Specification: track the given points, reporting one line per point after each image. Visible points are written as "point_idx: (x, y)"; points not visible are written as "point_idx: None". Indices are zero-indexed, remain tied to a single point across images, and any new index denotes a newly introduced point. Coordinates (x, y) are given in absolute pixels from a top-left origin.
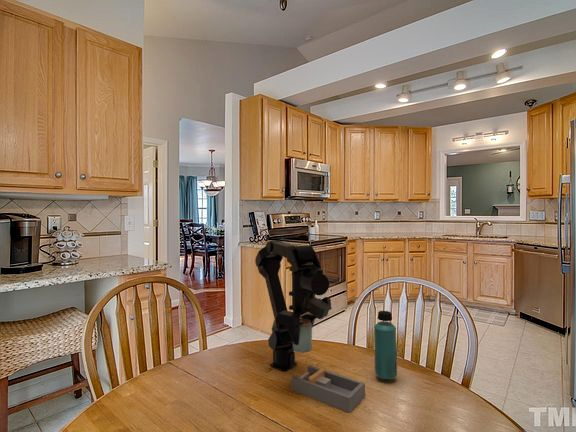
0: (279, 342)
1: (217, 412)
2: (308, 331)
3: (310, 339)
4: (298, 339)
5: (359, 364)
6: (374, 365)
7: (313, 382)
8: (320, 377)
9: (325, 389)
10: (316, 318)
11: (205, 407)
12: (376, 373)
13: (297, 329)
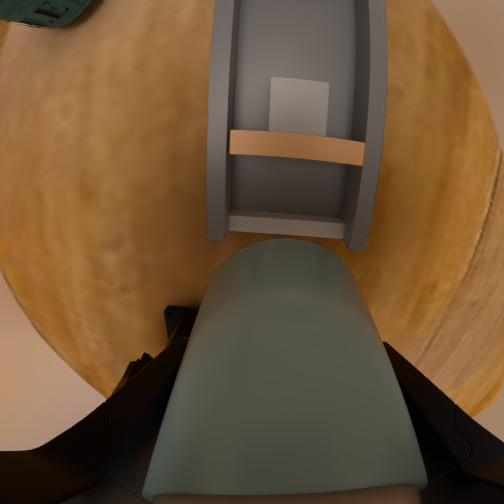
0: None
1: (483, 317)
2: (361, 401)
3: (298, 299)
4: (402, 373)
5: (33, 122)
6: (56, 17)
7: (346, 139)
8: (283, 129)
9: (386, 61)
10: (8, 452)
11: (470, 344)
12: (85, 2)
13: (501, 447)
